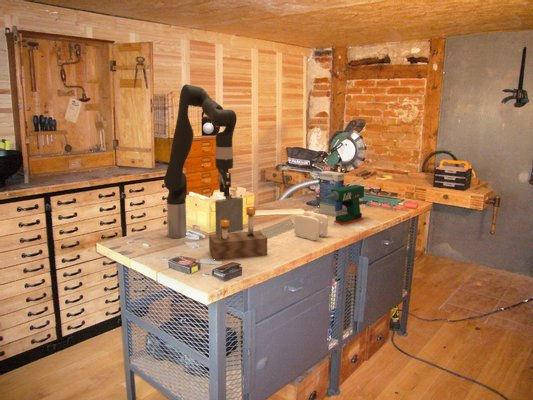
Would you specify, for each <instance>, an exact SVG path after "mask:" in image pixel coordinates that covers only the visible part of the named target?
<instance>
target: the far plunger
mask: <svg viewBox="0 0 533 400" xmlns="http://www.w3.org/2000/svg"><path fill="white" fill-rule="evenodd" d="M245 208H246V215H247V221H248V222H247V232H248V237H251V236H253V231H254V216H255V215H256V206H247V207H245Z"/></svg>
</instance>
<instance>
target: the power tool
mask: <svg viewBox="0 0 533 400" xmlns="http://www.w3.org/2000/svg"><path fill="white" fill-rule="evenodd" d="M364 197H365V186H364V185H360V184H352V185H346V186H344V187H340V188H335V189H331V193H330V194H329V196H327V197H325V198H326V199H330V200H331V201H335V202H339V203H340V202H342V205H343V207H344V206H345V208H346V213H342V215H338V216H336V217H335V219H334V220H333V223H334V224H338V225H341V226H345V225H348V224H352V223H355V222H359V221H363V220H364V218H363V216H362V215H363V213H362V212H361V206H360V199H362V198H364Z"/></svg>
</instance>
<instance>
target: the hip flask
mask: <svg viewBox="0 0 533 400" xmlns="http://www.w3.org/2000/svg"><path fill="white" fill-rule="evenodd" d="M243 199H244V198H243V197H242V196H241V197H239V196H238V197H236V196H235V197H234V196H233V195H232V194H231V193H229V196H227V197H225V198H222V199H218V200H215V202H214V205H215V234H222V228H220V220H224V219H226V220H229V228H228V233H234V232H240V231H241V232H242V231H243V230H244V227H243V226H244V215H243V214H244V210H243V209H244V205H243V204H244V200H243Z"/></svg>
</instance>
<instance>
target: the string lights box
mask: <svg viewBox="0 0 533 400" xmlns="http://www.w3.org/2000/svg"><path fill="white" fill-rule="evenodd" d="M344 184H345V172H337V171H330V170H325V171H320V172H319V187H318V188H319V190H318V191H319V193H318V194H319V195H318V214H322V215H325V216H332V217H335V218H336V216H338V215H342V214H343V207H344V206H343V205H342V202H340V203H339V202H335V201H331V200H330V199H326V198H325V197H327V196H329V194H330V193H331V189H335V188H340V187H345V186H344Z"/></svg>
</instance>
